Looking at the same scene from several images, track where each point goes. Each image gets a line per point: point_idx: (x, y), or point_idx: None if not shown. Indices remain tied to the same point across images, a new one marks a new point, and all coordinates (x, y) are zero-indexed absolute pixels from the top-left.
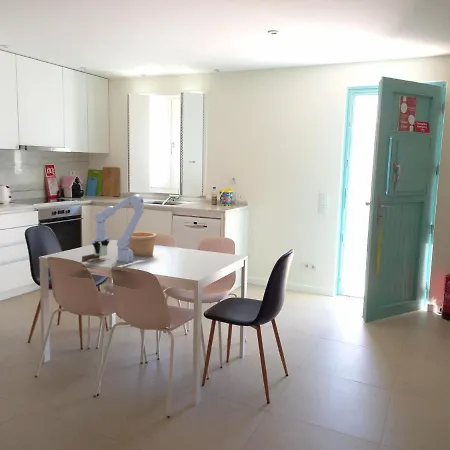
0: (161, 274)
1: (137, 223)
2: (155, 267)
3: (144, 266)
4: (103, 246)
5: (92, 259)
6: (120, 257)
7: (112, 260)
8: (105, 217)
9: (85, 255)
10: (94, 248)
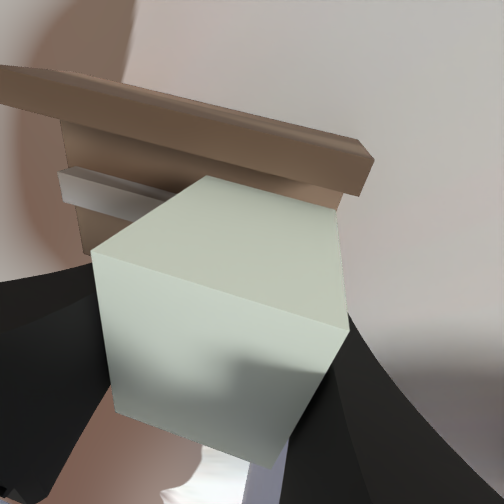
0: (175, 498)
1: None
2: None
3: None
4: (178, 431)
5: (108, 212)
6: None
7: (348, 307)
8: None
9: (51, 81)
10: (141, 222)
